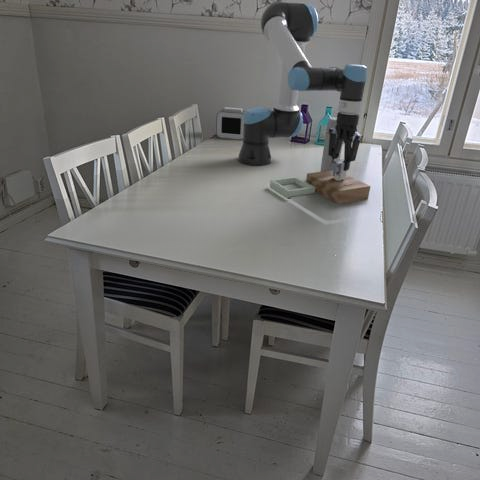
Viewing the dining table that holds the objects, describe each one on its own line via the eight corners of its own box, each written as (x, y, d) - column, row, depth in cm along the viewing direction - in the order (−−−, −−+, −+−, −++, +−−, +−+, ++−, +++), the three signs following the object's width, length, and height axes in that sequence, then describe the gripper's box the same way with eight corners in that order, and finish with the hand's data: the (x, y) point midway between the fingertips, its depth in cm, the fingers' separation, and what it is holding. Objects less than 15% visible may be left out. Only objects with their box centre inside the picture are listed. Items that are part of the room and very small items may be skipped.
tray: (269, 187, 163) (270, 179, 162) (295, 184, 168) (296, 176, 167) (288, 199, 153) (288, 191, 152) (314, 195, 158) (315, 187, 157)
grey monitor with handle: (215, 137, 230) (216, 108, 223) (220, 133, 240) (220, 105, 233) (245, 140, 228) (246, 111, 221) (248, 135, 238) (249, 107, 231)
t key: (325, 192, 158) (330, 162, 152) (339, 188, 163) (344, 158, 157) (332, 195, 156) (337, 164, 150) (345, 191, 161) (350, 160, 155)
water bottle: (337, 183, 171) (347, 121, 160) (318, 181, 173) (326, 119, 161) (337, 176, 179) (346, 117, 168) (318, 174, 181) (327, 115, 169)
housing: (305, 188, 165) (307, 173, 162) (333, 184, 171) (335, 169, 168) (337, 206, 149) (340, 190, 146) (367, 201, 155) (370, 185, 152)
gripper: (323, 109, 149) (315, 172, 160) (361, 117, 138) (349, 185, 149) (336, 107, 153) (327, 169, 164) (374, 115, 143) (362, 181, 153)
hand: (338, 176), depth 157 cm, fingers closed on t key, 3 cm apart
